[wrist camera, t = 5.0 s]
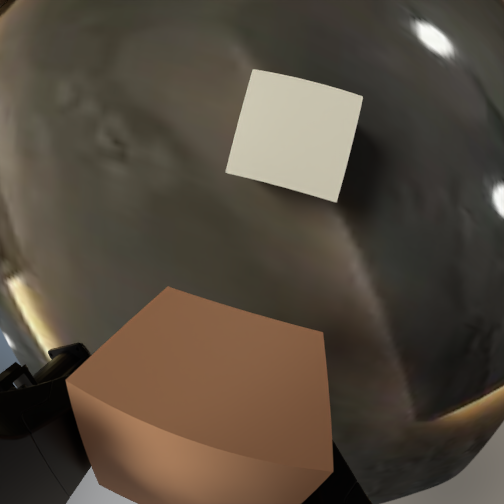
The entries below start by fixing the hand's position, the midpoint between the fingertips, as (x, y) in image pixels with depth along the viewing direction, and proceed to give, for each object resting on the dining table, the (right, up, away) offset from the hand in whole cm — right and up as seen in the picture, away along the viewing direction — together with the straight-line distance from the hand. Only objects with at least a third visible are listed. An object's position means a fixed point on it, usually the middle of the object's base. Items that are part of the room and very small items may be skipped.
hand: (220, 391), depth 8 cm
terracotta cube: (0, 0, +1) cm, 1 cm away
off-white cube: (+4, +11, +8) cm, 14 cm away
